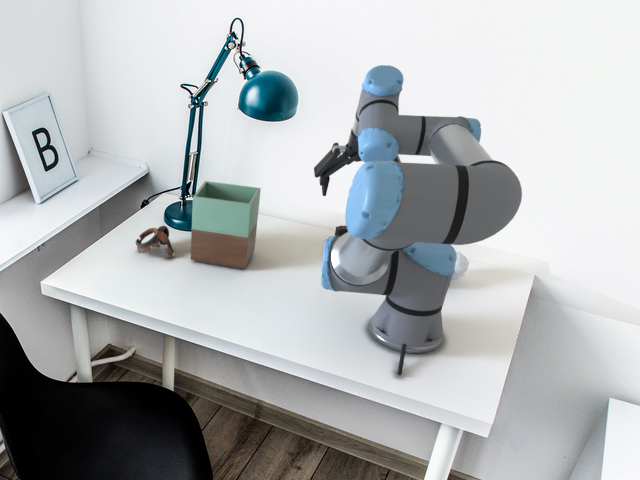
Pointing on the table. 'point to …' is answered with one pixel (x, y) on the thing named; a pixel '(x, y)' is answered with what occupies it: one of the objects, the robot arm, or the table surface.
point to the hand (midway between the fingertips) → (351, 190)
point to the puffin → (460, 266)
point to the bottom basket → (222, 248)
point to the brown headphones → (155, 240)
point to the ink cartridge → (341, 230)
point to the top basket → (225, 208)
